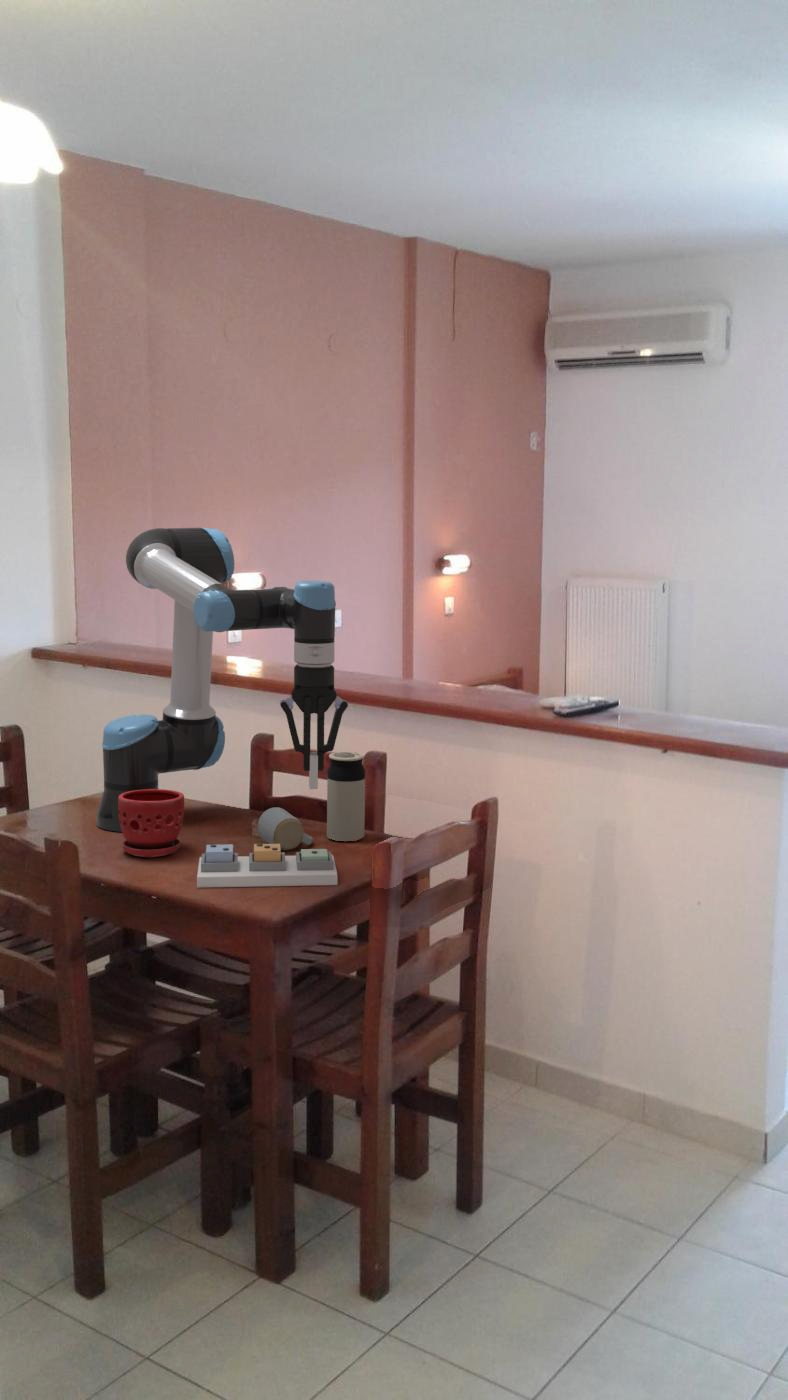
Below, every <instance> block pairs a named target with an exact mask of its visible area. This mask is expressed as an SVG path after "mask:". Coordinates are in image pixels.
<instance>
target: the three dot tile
mask: <svg viewBox="0 0 788 1400" xmlns="http://www.w3.org/2000/svg"><path fill="white" fill-rule="evenodd" d="M281 852H282V850H281V849H280V844H269V843H254V844H253V853H254V862H262V861H281Z"/></svg>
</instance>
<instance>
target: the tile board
mask: <svg viewBox="0 0 788 1400" xmlns="http://www.w3.org/2000/svg"><path fill="white" fill-rule="evenodd" d="M248 853H249V856H247V855H246V856H244V855H243V856H239V853H238V852H233V862H206V853H202V854H201V856H199V861H198V866H197V875H196V888H198V889H199V888H201V889H202V888H238V887H239V888H240V887H241V888H246V887H247V888H249V887H254V888H255V887H292V886H293V887H295V886H296V887H297V886H298V887H299V886H302V887H303V886H338V870H337V866H336V862H335V857H334V855H333V854H332V851H327V853H328V861H301V851H296V852H295V855H286V853H285V851H283V852H282V851H281V861H262V862H254V852H248Z"/></svg>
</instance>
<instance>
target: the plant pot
mask: <svg viewBox="0 0 788 1400" xmlns="http://www.w3.org/2000/svg"><path fill="white" fill-rule="evenodd" d="M118 812H119V822H120V827H121V830H122V832H121V833H122V834H123V837H124V839H125V840H124V841H123V842H122V849H123V850H124V851H125V852H126V853H127V854H130V855H132V856H136V857H140V858H141V857H142V858H150V859H153V858H158V857H165V856H168V855H170V854H173V853H175V852H177V850H179V848H180V846H181V845H182V844H181V840H179V839H178V837H179V835H180V833H181V830H182V828H183V827H182V826H183V823H184V814H185V795H184V793H182V792H180V791H176V790H171V789H159V788H158V789H145V790H135V791H129V792H125V793H122V794H120V795H119V798H118ZM140 814H141V815H142V818H141V817H140ZM157 814H159V815H157ZM166 817H167V819H166Z"/></svg>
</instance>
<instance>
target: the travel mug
mask: <svg viewBox="0 0 788 1400" xmlns="http://www.w3.org/2000/svg"><path fill="white" fill-rule="evenodd" d="M328 757H329V759H330V760H329V761H330V765H329V767H328V769H327V773H326V774H327V776H326V777H327V781H326V782H327V784H326V785H327V786H326V787H327V789H326V790H327V792H326V794H327V795H326V796H327V797H326V798H327V799H326V809H327V810H326V837H327V839H329V840H331V839H332V840H331V841H333V840H335V841H334V842H337V841H352V840H356V839H360V838H362V837H363V836H364V837H365V823H366V822H365V819H366V818H365V817H366V815H365V814H366V813H365V812H366V811H365V809H366V804H365V803H366V769H365V768H364V765H363V759H364V758H365V755H364V754H363V753H361V752H358V751H357V752H356V751H337V752H332V753H331V752H330V754H329V755H328Z"/></svg>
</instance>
